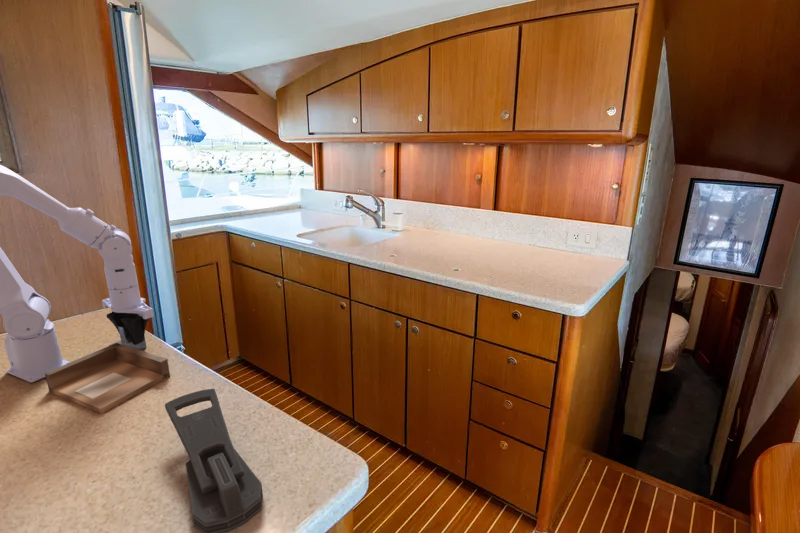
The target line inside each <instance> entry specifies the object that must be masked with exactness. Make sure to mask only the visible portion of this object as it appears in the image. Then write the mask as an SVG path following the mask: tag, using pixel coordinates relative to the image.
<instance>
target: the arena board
mask: <svg viewBox="0 0 800 533" xmlns="http://www.w3.org/2000/svg"><path fill="white" fill-rule="evenodd" d="M169 375H170V376H171V373H170V374H169ZM164 376H166V375H164ZM164 376H163V375H161V374H158V373H155V372H152V371H149V370H146V369H143V368H140V367H137V366H134V365H131V364H128V363H125V362H123V361H120V360H115V361H113V362H110V363H108V364H106V365H104V366H102V367H99V368H97V369H95V370H93V371H91V372H89V373H86V374H84V375H82V376H80V377H78V378H75V379H73V380H71V381H69V382H67V383H65V384H62V385H60V386H58V387H56V388H54V389H53V390H52V391H53V392H54V393H53V392H51V389H52V388H50V392H49V393H52V394H54V395H57V396H59V397H62V398H64V399H66V400H68V401H71V402H73V403H75V404H78V405H80V406H82V407H85V408H87V409H90V410H92V411H95V412H97V413H99V414H103V413H105V412H106V413H107V411H110V410H111V409H113V408H115V407H117V406H119V405H120V404H122V403H124V402H125V401H127V400H129V399H131V398H132V397H134V396H137V395H139V393H142V392H143V391H145V390H147V389H149V388H151V387H152V386H153V387H154V385H156V384H158V383H161V382H162V381H164V380H165V379H166V378H164ZM47 387H48V386H47ZM47 389H49V387H48V388H47Z"/></svg>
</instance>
